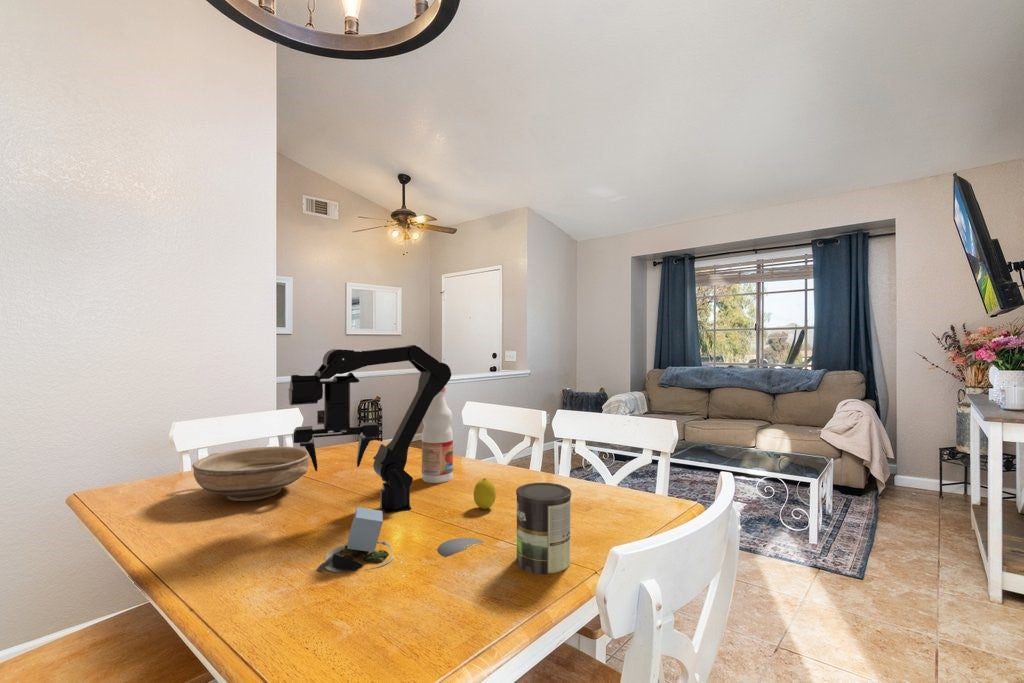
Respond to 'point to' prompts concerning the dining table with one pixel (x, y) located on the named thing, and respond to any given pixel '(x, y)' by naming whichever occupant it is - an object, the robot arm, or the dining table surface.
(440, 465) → the fruit juice
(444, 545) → the gray coaster
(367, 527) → the slate block
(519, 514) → the coffee can
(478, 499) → the lemon
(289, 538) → the dining table surface
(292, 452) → the ceramic bowl
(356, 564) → the salad plate
